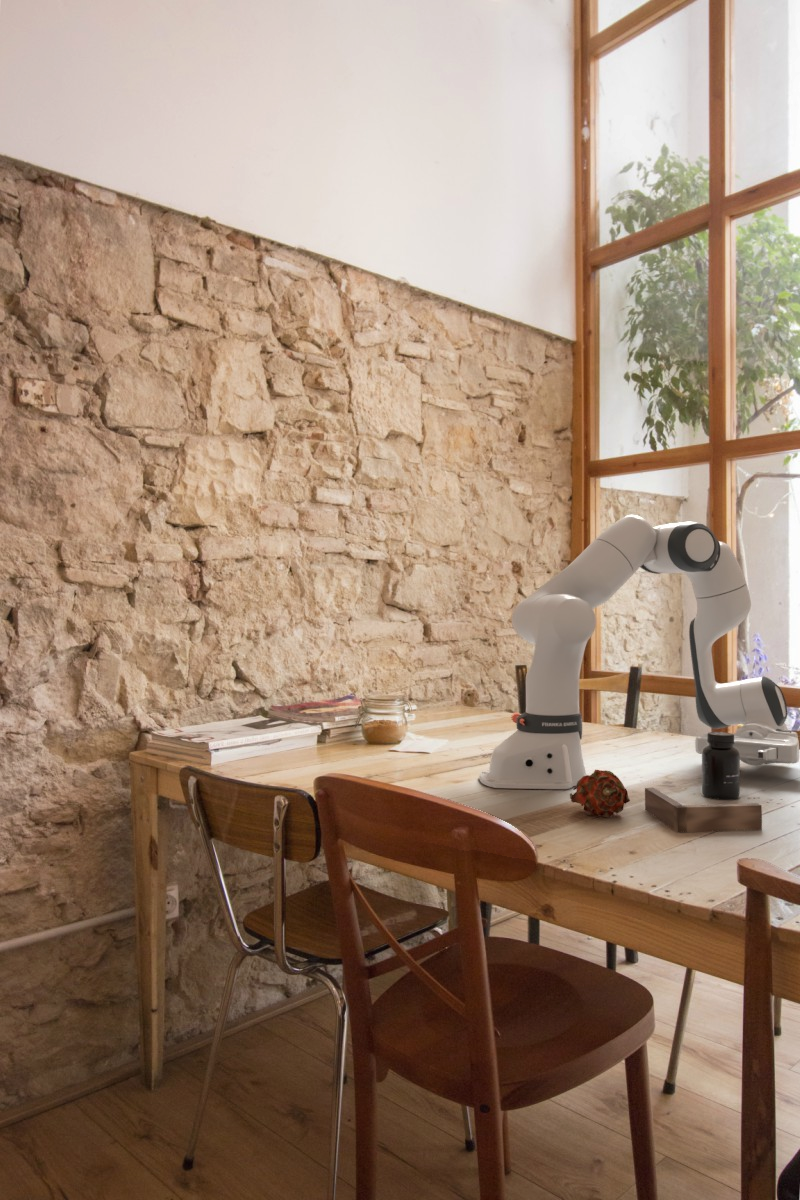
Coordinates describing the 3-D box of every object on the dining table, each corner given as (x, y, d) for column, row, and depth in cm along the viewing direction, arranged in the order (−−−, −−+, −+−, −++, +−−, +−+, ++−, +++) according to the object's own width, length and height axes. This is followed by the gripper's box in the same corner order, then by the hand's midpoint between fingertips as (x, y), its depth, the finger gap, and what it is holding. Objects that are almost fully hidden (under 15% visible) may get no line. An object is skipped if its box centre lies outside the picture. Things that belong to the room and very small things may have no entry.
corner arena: (677, 832, 138) (677, 807, 138) (645, 810, 153) (644, 787, 153) (761, 830, 139) (761, 805, 139) (721, 808, 154) (721, 785, 154)
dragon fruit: (620, 833, 144) (579, 827, 155) (650, 798, 148) (607, 795, 158) (592, 794, 143) (552, 791, 154) (622, 760, 147) (581, 759, 157)
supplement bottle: (736, 802, 159) (735, 737, 159) (698, 798, 162) (697, 734, 162) (743, 794, 165) (742, 732, 165) (706, 791, 168) (705, 729, 168)
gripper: (705, 725, 190) (685, 733, 179) (805, 732, 178) (790, 741, 167) (705, 753, 190) (685, 763, 179) (805, 763, 178) (790, 774, 167)
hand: (737, 753), depth 173 cm, fingers open, 8 cm apart
